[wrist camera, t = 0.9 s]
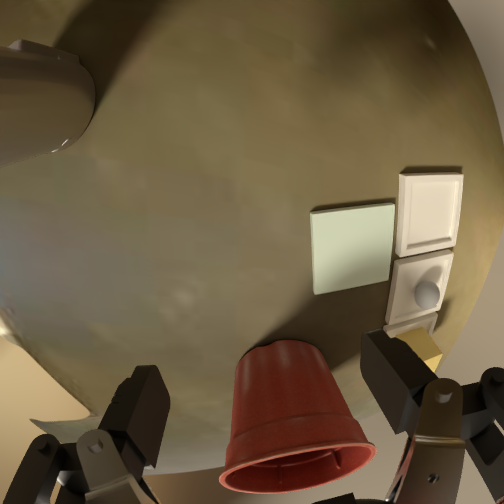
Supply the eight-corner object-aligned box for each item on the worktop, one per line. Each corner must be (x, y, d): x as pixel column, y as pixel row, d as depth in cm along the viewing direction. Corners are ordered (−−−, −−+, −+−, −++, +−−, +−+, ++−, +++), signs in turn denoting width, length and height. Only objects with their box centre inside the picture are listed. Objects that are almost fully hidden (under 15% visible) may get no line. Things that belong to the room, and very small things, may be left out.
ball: (411, 278, 30) (426, 294, 26) (432, 273, 30) (447, 287, 26) (407, 301, 31) (420, 317, 28) (427, 296, 31) (441, 311, 28)
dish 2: (394, 260, 29) (399, 265, 28) (448, 249, 29) (453, 253, 28) (384, 320, 33) (388, 325, 32) (435, 305, 33) (439, 309, 32)
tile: (309, 211, 26) (312, 214, 25) (391, 202, 26) (394, 204, 25) (313, 290, 30) (314, 294, 29) (385, 276, 30) (388, 280, 29)
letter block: (395, 335, 34) (413, 365, 28) (423, 326, 34) (443, 353, 28) (388, 358, 36) (404, 387, 30) (415, 349, 36) (432, 376, 30)
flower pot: (344, 381, 38) (376, 468, 24) (246, 410, 40) (252, 499, 25) (327, 306, 31) (378, 424, 16) (197, 348, 33) (187, 467, 18)
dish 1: (399, 173, 25) (405, 176, 23) (456, 172, 25) (463, 174, 23) (394, 252, 28) (400, 257, 27) (449, 241, 28) (455, 245, 27)
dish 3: (383, 325, 33) (387, 331, 32) (434, 310, 33) (438, 315, 32) (373, 367, 37) (376, 373, 36) (420, 352, 37) (423, 357, 36)
